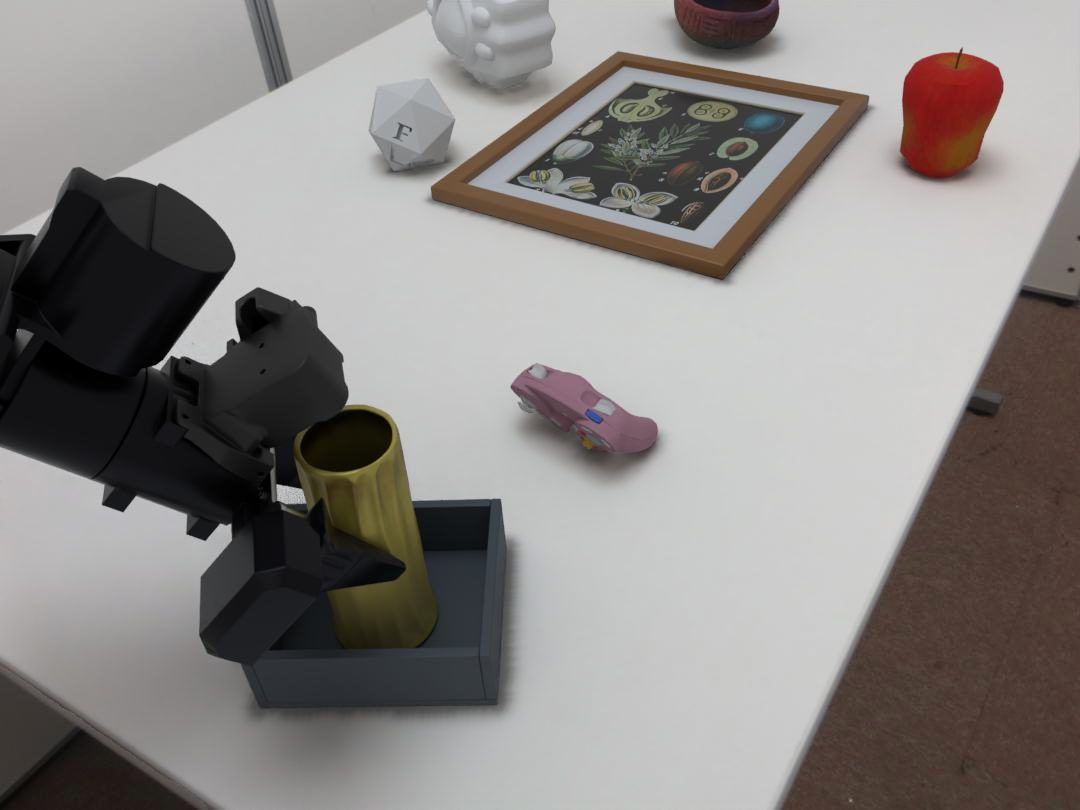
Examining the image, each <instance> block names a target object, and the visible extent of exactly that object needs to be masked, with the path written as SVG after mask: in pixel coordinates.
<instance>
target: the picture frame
mask: <svg viewBox="0 0 1080 810" xmlns="http://www.w3.org/2000/svg"><path fill="white" fill-rule="evenodd" d="M869 102H870V95H868V94H863V93H859V92H853V91H847V90H841V89H835V88H829V87H824V86H818V85H812V84H808V83H807V84H806V83H802V82H801V83H800V82H794V81H789V80H784V79H778V78H774V77H773V78H772V77H767V76H761V75H755V74H750V73H745V72H739V71H733V70H727V69H722V68H715V67H711V66H705V65H699V64H692V63H688V62H682V61H676V60H672V59H671V60H670V59H665V58H659V57H653V56H648V55H642V54H637V53H630V52H624V51H620V50H619V51H616V52H615V53H613V54H612V55H610V56H609V57H608V58H607V59H605V60H604V61H602V62H601V63H599V64H598V65H597V66H595V67H594V68H593V69H591V70H590V71H588V72H587V73H586V74H584V75H583V76H582V77H580V78H579V79H577V80H576V81H574V82H573V83H572V84H570V85H568V87H566V88H565V89H563V90H562V91H561V92H559V93H558V94H557V95H555V96H554V97H552V98H551V99H550V100H549V101H546V102H545V103H544V104H543V105H542V106H540V107H538V108H537V109H536V110H535V111H532V113H530V114H529V115H528V116H526V117H524V118H523V119H522V120H521V121H519V122H518V123H517V124H515V125H513V126H512V127H511V128H509V129H508V130H507V131H506V132H504V133H503V134H501V135H500V136H499V137H497V138H496V139H494V140H493V141H492V142H490V143H489V144H487V145H485V147H484V148H482V149H481V150H479V151H478V152H476V153H475V154H474V155H472V156H471V157H469V158H467V160H465V161H464V162H462V163H461V164H460V165H458V166H457V167H456V168H454V169H453V170H452V171H450V172H449V173H448V174H446V175H444V176H443V177H442V178H441V179H439V180H438V181H437V182H435V183H434V184H432V185H430V193H431V198H432V200H434V201H437V202H441V203H445V204H448V205H453V206H456V207H459V208H463V209H467V210H469V211H473V212H476V213H477V212H478V213H481V214H483V215H489V216H491V217H496V218H499V219H503V220H506V221H510V222H514V223H517V224H520V225H524V226H528V227H532V228H535V229H538V230H542V231H546V232H550V233H554V234H557V235H559V236H564V237H568V238H572V239H574V240H577V241H582V242H585V243H590V244H593V245H596V246H600V247H603V248H608V249H612V250H614V251H619V252H622V253H624V254H625V253H626V254H629V255H633V256H636V257H640V258H643V259H646V260H650V261H654V262H658V263H661V264H665V265H668V266H673V267H676V268H679V269H683V270H687V271H690V272H693V273H698V274H701V275H705V276H708V277H711V278H715V279H719V280H723V279H724V278H726V276H727V275H728V273H729V272H730V271H731V270H732V269H733V268H734V266H736V264H737V263H738V262H739V260H740V259H741V258H742V257H743V256H744V255H745V254H746V252H747V251H748V250H749V249H750V248H751V246H752V245H753V244H754V243H755V242H756V241H757V239H758V238H759V237H760V236H761V234H763V232H764V231H765V230H766V229H767V227H769V225H770V224H771V222H773V220H774V219H775V218H776V216H777V215H778V214H779V213H781V211H782V210H783V209H784V207H785V206H786V205H787V204H788V202H789V201H790V200H791V199H792V198H793V197H794V195H795V194H796V193H797V192H798V191H799V189H801V187H802V186H803V184H805V182H806V181H807V180H808V179H809V177H810V176H811V175H812V174H813V173H814V172H815V171H816V170H817V168H818V167H819V166H820V164H821V163H822V162H823V161H824V160H825V159H826V158H827V156H828V155H829V154H830V153H831V152H832V150H833V149H834V148H836V146H837V144H838V143H839V142H840V141H841V139H842V138H843V137H844V136H845V135H846V134H847V133H848V132H849V130H850V129H851V128H852V127H853V125H854V124H855V123H856V122H857V121H858V120H859V118H860V117H861V116H862V115H863V114H864V112H865V111H866V110H867V109H868V107H869Z"/></svg>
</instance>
